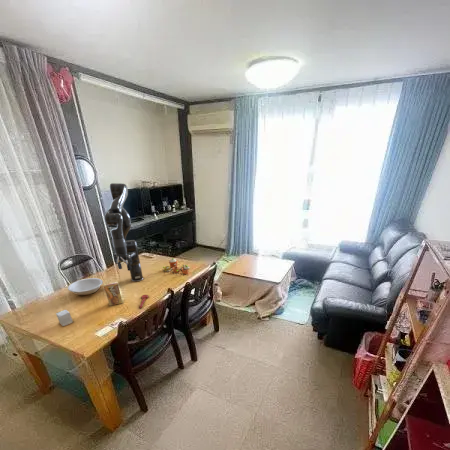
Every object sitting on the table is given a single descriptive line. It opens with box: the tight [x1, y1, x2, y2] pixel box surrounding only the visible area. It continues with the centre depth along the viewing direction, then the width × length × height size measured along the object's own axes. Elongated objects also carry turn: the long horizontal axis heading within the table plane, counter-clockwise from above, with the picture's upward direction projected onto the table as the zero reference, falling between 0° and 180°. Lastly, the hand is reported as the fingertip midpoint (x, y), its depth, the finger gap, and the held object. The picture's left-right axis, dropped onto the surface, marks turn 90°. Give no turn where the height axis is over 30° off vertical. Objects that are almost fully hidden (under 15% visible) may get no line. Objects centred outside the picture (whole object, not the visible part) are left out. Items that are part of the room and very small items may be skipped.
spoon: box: [138, 294, 149, 309], centre depth 181 cm, size 17×5×1 cm, turn 4°
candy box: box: [103, 281, 124, 306], centre depth 176 cm, size 9×4×15 cm, turn 116°
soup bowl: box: [67, 277, 104, 296], centre depth 194 cm, size 24×24×7 cm
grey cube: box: [55, 309, 74, 327], centre depth 158 cm, size 6×6×7 cm
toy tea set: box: [162, 257, 190, 275], centre depth 229 cm, size 26×16×10 cm, turn 68°
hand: (124, 269), depth 171 cm, fingers open, 8 cm apart
